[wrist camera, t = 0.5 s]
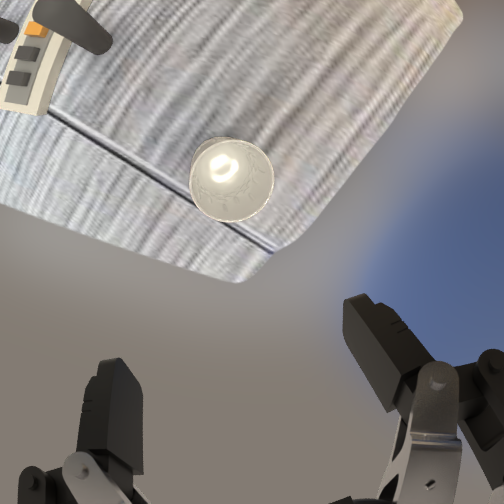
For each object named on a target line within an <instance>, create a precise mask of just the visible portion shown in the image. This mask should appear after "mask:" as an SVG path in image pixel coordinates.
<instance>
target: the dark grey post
mask: <svg viewBox="0 0 504 504" xmlns="http://www.w3.org/2000/svg"><path fill="white" fill-rule="evenodd" d="M18 32H19V26H18V25H17V24H16V23H13V22H11V21H8V20H6V19H3V18H0V42H1V43H5V44H8V43H10V42H12V41H13V40H14V39H15V38H16V36H17V34H18Z"/></svg>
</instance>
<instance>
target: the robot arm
mask: <svg viewBox="0 0 504 504" xmlns="http://www.w3.org/2000/svg"><path fill="white" fill-rule="evenodd" d="M343 336H344V339H345V342H346V344H347V346H348V348H349V349H350V351H351V353H352V354H353V356H354V357H355V359H356V361H357V363H358V364H359V366H360V368H361V369H362V371H363V373H364V374H365V376H366V378H367V380H368V381H369V383H370V385H371V386H372V388H373V389H374V391H375V393H376V395H377V397H378V398H379V400H380V402H381V403H382V405H383V407H384V409H385V410H386V412H387V413H388V412H390V411H392V410H394V409H397V410H398V412H399V413H400V417H399V422H398V426H397V431H396V436H395V440H394V445H393V448H392V453H391V457H390V460H389V464H388V467H387V469H386V471H385V473H384V476H383V479H382V481H381V484H380V488H379V491H378V494H377V497H376V499H355V500H352V498H351V496H349V497H346V498H344V499H341V500H338V501H335V502H333V503H330V504H453V502H454V497H455V492H456V487H457V482H458V476H459V470H460V463H461V456H462V442H461V440H460V439H458V438H457V423H458V425H459V427H460V429H461V431H462V432H463V434H464V436H465V438H466V440H467V441H468V443H469V445H470V447H471V449H472V450H473V452H474V454H475V456H476V458H477V460H478V462H479V464H480V466H481V468H482V470H483V472H484V474H485V476H486V478H487V480H488V482H489V484H490V486H491V488H492V490H493V492H492V494H491V496H490V498H489V502H488V504H504V352H502V351H500V350H497V349H489V350H486V351H484V352H483V353H482V354H481V355H480V357H479V359H478V361H477V362H474V363H470V364H466V365H462V366H456V367H452V366H451V365H450V364H448V363H446V362H442V361H436V360H435V359H434V358H433V357H432V356H431V355H430V354H429V352H428V351H427V350H426V349H425V347H424V346H423V345H422V344H421V342H420V341H419V340H418V339H417V337H416V336H415V335H414V334H413V332H412V331H411V330H410V329H408V326H407V325H406V324H405V323H404V321H402V320H401V318H400V317H399V316H398V314H397V313H396V312H395V311H394V310H393V309H392V308H390V307H388V306H387V305H385V304H383V303H378V304H374V303H373V302H372V301H371V299H370V298H369V297H368V296H367V295H366V294H365V293H363V294H360V295H357V296H354V297H351V298H348V299H345V300H344V303H343ZM83 401H84V403H83V405H82V413H81V418H80V425H79V432H78V441H77V448H76V452H75V453H72V454H71V455H70V456H68V457H67V458H66V460H65V462H64V464H63V467H60V468H57V469H54V470H51V471H47V472H44V471H42V470H41V469H39V468H37V467H35V466H29V467H27V468H25V469H24V470H23V471H22V473H21V475H20V477H19V485H18V504H152V503H151V502H150V501H149V500H148V499H147V498H146V497H145V495H144V494H143V493H142V492H141V491H140V490H139V489H138V487H137V486H136V485H135V484H134V483H133V475H143V474H144V472H143V437H142V436H143V431H142V430H143V393H142V389H141V386H140V384H139V382H138V381H137V379H136V378H135V376H134V375H133V374H132V372H131V371H130V370H129V368H128V367H127V365H126V364H125V363H124V361H123V360H122V359H121V358H114V359H109V360H103V361H100V363H99V366H98V371H97V376H93V377H92V378H91V379H90V381H89V383H88V385H87V387H86V389H85V394H84V400H83ZM427 488H428V490H426V489H427Z"/></svg>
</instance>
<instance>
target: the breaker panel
mask: <svg viewBox="0 0 504 504" xmlns="http://www.w3.org/2000/svg"><path fill="white" fill-rule="evenodd" d="M37 1H38V0H35V2H34V4H33V6H32V8H31V10H30V12H29V14H28V16H27V18H26V20H25V23H24V25H23V27H22V29H21V32H20V34H19V36H18V39H17V41H16V44H15V46H14V49H13V51H12V54H11V57H10V59H9V62H8V65H7V68H6V71H5V74H4V77H3V81H2V84H1V87H0V109H3V110H9V111H15V112H20V113H25V114H30V115H35V116H38V115H46V114H47V110H48V107H49V103H50V100H51V97H52V94H53V91H54V88H55V85H56V82H57V79H58V76H59V73H60V71H61V68H62V65H63V63H64V60H65V58H66V55H67V53H68V50H69V48H70V46H71V43H72V41H70V40H68V39H66V38H65V37H63V36H61V35H59V34H57V33H55V32H53V31H52V30H50V29H48V28H46V27H44V26H42V25H40V24H38V23H36V22H35V21H34V20H33V17H32V11H33V8H34V6H35V4H36V2H37ZM75 1H76V2H77V3H78V4H79V5H80V6H81V7H82V8H83V9H84V10H85V11H86V12H87V10H88V8H89V6H90V4H91V2H92V1H93V0H75Z"/></svg>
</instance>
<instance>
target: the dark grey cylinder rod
mask: <svg viewBox="0 0 504 504" xmlns="http://www.w3.org/2000/svg"><path fill="white" fill-rule="evenodd" d="M32 17H33V20H34V21H35V22H36V23H38V24H40V25H42V26H44V27H46V28H48V29H50V30H52V31H53V32H55V33H57V34H59V35H61V36H63V37H65V38H66V39H68V40H70V41H72V42H74V43H75V44H77V45H79V46H81V47H83V48H84V49H86V50H88V51H89V52H91V53H93V54H95V55H101V54H104V53H105V52H107V51H108V50H109V49H110V48H111V46H112V42H113V40H112V37H111V35H110V34H109V33H108V32H107V31H106V30H105V29H104V28H103V27H102V26H101V25H100V24H99V23H98V22H97V21H96V20H95V19H94V18H93V17H92V16H91V15H90V14H89V13H87V12H86V11H85V10H84V9H83V8H82V7H81V6H80V5H79V4H78V3H77V2H76V1H75V0H38V1H37V2H36V4H35V6H34V8H33V11H32Z"/></svg>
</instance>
